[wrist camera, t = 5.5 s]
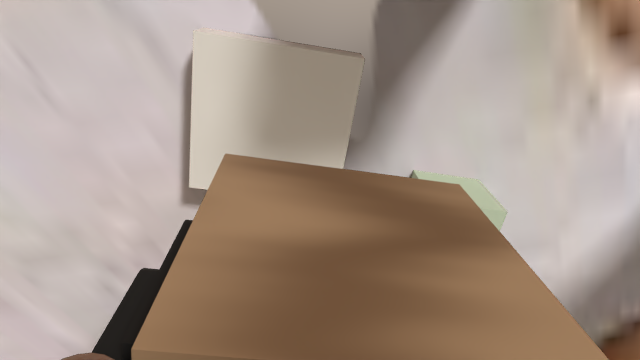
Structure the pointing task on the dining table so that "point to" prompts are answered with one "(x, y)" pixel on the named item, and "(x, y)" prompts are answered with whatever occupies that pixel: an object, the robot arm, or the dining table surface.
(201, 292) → the walnut block
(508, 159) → the dining table surface
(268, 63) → the stone base
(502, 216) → the sage block
